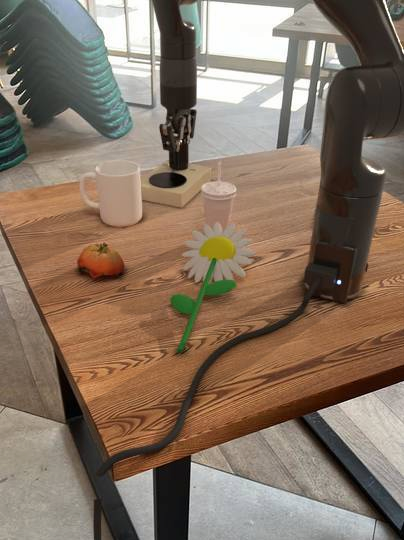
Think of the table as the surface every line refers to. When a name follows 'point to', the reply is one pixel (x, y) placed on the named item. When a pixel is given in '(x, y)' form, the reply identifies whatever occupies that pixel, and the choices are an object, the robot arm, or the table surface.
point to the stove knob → (183, 155)
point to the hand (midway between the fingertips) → (178, 163)
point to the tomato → (100, 260)
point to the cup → (116, 192)
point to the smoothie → (218, 201)
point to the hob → (179, 194)
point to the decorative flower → (212, 267)
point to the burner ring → (167, 180)
